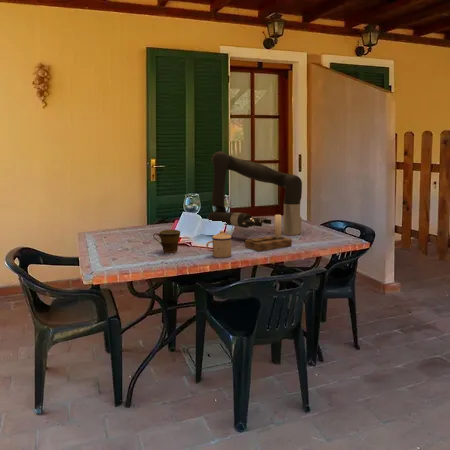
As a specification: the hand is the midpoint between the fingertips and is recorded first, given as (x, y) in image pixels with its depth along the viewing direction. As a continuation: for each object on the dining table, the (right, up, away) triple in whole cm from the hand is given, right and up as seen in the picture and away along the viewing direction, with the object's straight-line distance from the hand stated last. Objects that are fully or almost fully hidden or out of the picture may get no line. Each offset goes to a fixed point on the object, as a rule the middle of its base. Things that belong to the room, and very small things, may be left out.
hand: (266, 223), depth 237 cm
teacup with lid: (-24, -15, -23) cm, 36 cm away
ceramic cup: (-49, -14, -15) cm, 53 cm away
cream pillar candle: (+5, -10, -3) cm, 11 cm away
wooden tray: (0, -12, -5) cm, 13 cm away
